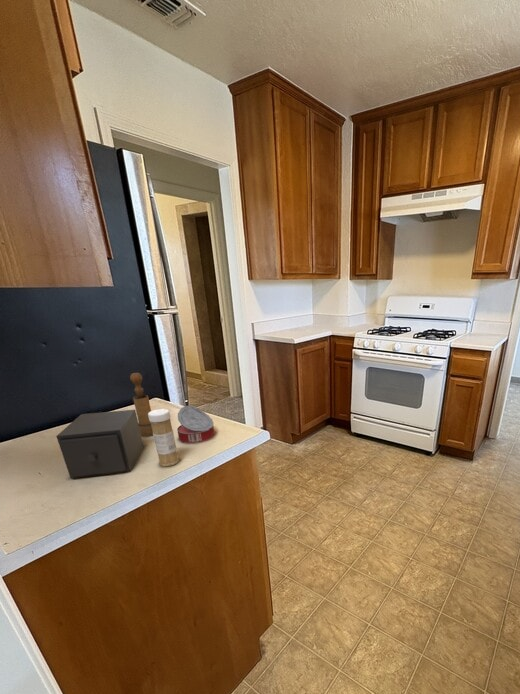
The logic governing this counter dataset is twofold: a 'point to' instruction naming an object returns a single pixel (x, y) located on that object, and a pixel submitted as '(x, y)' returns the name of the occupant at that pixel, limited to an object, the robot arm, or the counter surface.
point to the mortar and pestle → (141, 406)
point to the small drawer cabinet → (109, 432)
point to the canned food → (194, 425)
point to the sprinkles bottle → (163, 437)
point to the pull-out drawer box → (93, 454)
